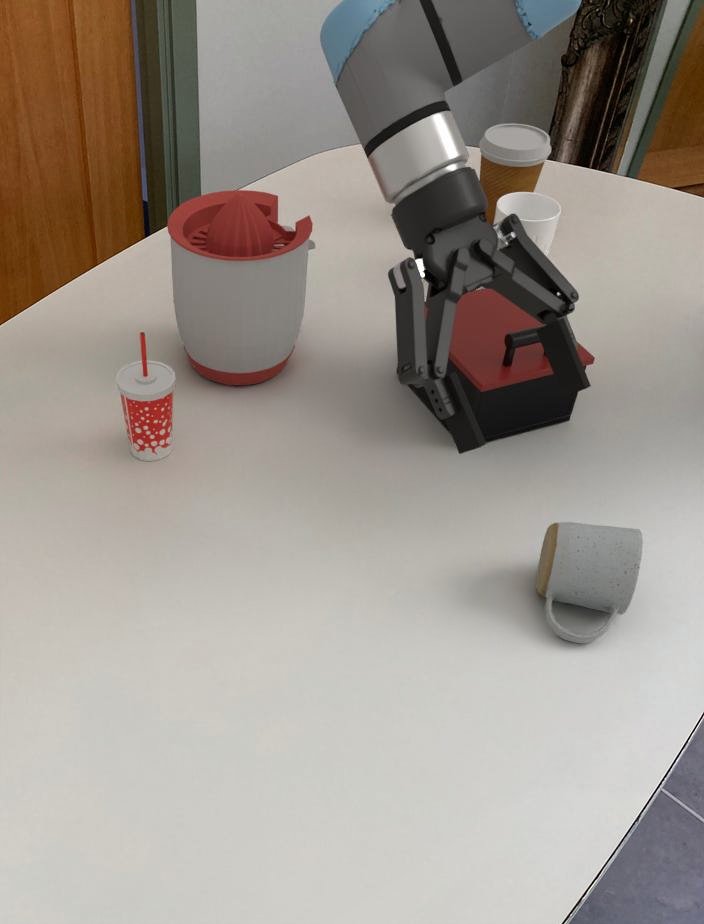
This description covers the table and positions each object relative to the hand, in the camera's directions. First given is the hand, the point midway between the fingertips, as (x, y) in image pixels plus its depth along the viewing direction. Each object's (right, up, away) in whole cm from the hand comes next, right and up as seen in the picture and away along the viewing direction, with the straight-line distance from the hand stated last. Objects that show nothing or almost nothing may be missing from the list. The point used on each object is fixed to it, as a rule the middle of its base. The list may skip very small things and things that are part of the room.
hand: (526, 419), depth 87 cm
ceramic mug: (+7, -16, +6) cm, 18 cm away
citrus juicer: (-24, +15, +33) cm, 43 cm away
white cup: (+12, +28, +44) cm, 54 cm away
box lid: (+3, +14, +21) cm, 25 cm away
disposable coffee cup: (+13, +40, +54) cm, 69 cm away
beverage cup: (-34, +2, +21) cm, 41 cm away
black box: (+3, +9, +27) cm, 29 cm away
